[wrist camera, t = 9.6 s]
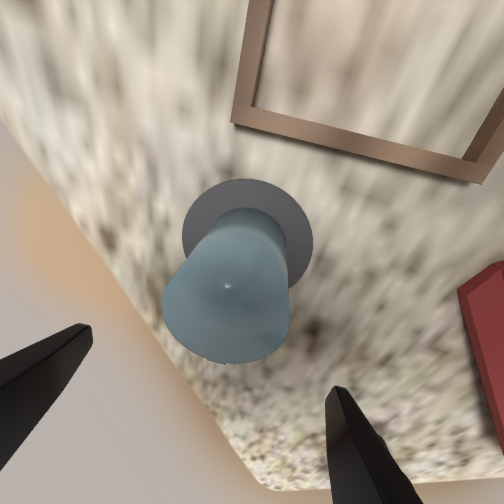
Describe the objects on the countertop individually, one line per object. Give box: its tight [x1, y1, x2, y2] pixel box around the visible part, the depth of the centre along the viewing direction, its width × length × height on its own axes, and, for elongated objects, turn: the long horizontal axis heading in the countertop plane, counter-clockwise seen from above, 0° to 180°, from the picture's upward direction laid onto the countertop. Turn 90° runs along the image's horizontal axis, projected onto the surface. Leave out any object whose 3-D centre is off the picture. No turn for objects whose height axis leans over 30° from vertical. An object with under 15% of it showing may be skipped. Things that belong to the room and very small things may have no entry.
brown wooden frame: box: [230, 0, 504, 185], centre depth 12 cm, size 15×12×1 cm
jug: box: [161, 208, 290, 365], centre depth 15 cm, size 8×6×8 cm
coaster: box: [182, 179, 313, 289], centre depth 18 cm, size 10×10×1 cm
